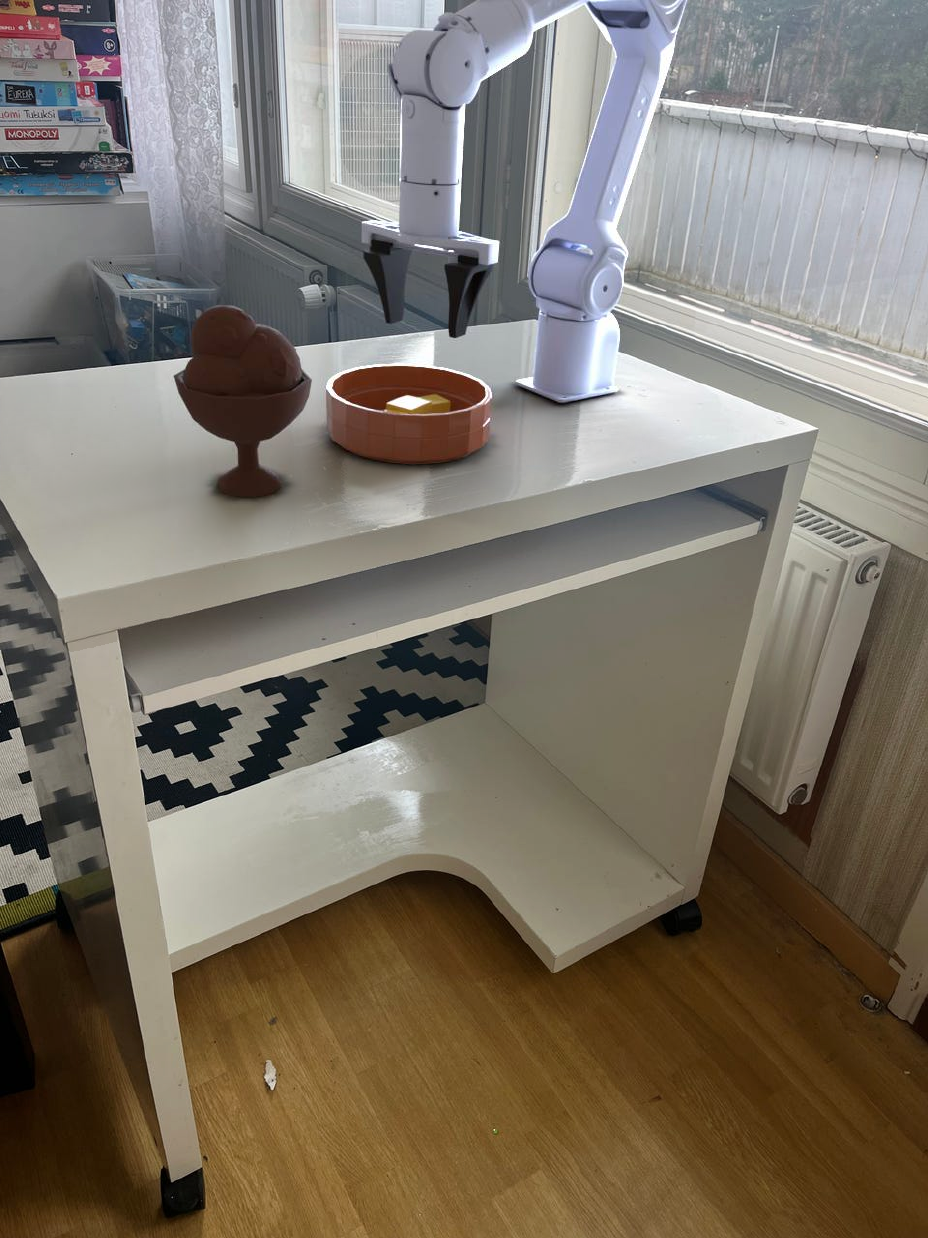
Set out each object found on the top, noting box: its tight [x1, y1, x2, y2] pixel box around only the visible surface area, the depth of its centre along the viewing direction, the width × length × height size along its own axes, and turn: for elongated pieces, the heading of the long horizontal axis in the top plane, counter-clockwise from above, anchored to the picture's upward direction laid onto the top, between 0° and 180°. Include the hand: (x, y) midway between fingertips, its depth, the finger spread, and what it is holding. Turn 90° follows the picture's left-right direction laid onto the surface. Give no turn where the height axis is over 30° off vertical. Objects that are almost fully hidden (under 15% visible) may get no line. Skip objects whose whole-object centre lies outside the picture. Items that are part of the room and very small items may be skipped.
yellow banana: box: [384, 394, 450, 414], centre depth 94 cm, size 10×4×3 cm, turn 148°
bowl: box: [325, 363, 493, 465], centre depth 94 cm, size 16×16×5 cm
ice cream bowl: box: [173, 304, 313, 498], centre depth 79 cm, size 11×11×15 cm
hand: (425, 328), depth 95 cm, fingers open, 7 cm apart
